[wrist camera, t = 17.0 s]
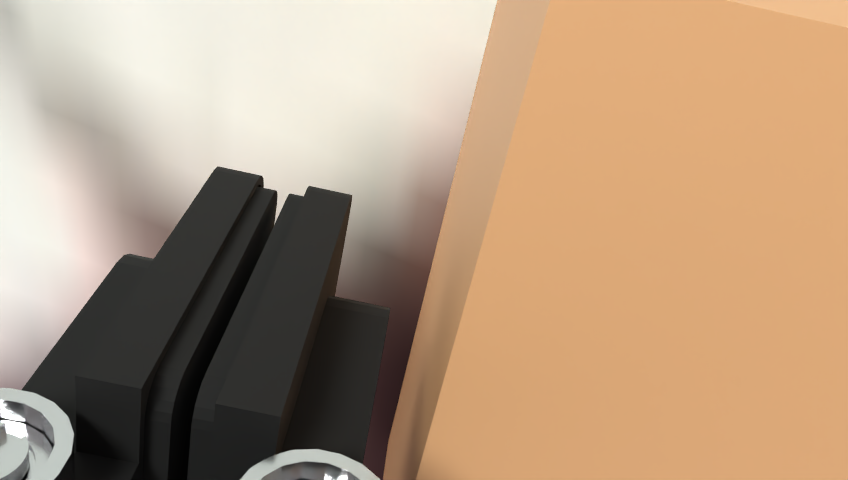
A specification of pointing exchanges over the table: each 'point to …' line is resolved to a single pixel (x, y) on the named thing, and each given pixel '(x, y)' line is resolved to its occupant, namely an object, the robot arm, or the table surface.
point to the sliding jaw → (641, 251)
